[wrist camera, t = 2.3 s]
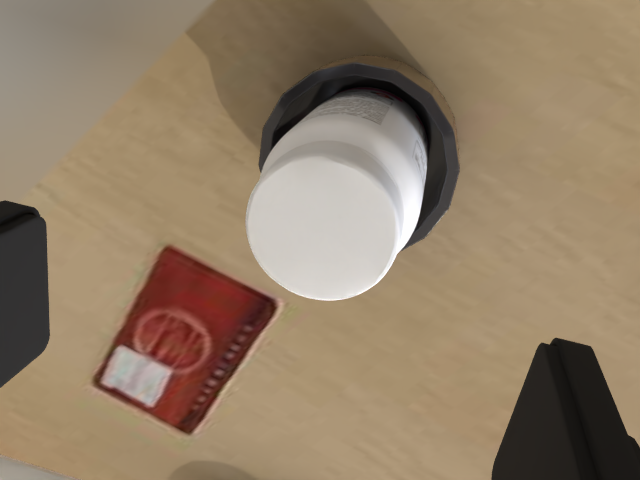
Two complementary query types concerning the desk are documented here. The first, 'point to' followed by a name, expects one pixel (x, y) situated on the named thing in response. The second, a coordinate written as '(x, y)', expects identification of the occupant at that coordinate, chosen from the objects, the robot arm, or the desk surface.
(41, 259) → the robot arm
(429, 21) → the desk surface
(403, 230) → the pill bottle
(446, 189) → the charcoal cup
